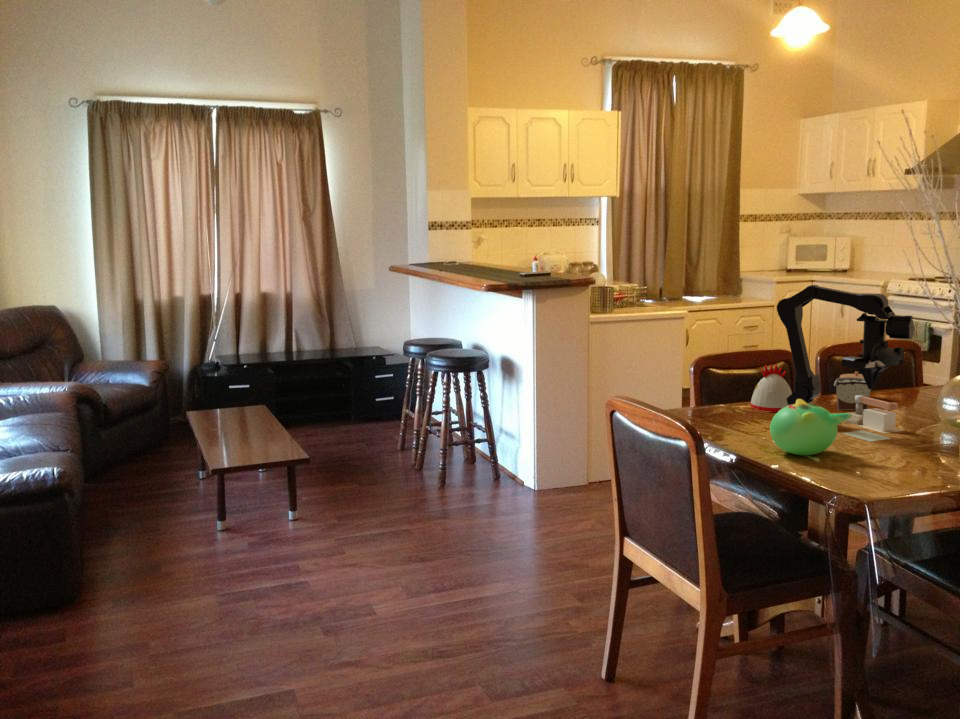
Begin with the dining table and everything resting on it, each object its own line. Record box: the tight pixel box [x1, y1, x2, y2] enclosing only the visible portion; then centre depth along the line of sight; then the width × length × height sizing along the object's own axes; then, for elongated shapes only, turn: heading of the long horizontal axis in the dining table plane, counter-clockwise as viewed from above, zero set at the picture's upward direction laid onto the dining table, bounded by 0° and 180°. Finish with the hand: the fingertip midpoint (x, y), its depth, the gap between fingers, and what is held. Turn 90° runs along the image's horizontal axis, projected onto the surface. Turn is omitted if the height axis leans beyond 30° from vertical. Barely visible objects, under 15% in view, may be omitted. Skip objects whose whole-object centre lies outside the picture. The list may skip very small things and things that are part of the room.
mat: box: [841, 429, 892, 443], centre depth 260 cm, size 8×11×1 cm
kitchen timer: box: [750, 364, 793, 413], centre depth 299 cm, size 14×14×15 cm
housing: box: [844, 402, 905, 434], centre depth 271 cm, size 8×16×7 cm, turn 22°
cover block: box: [862, 407, 897, 431], centre depth 269 cm, size 5×8×5 cm, turn 22°
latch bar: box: [855, 395, 899, 412], centre depth 270 cm, size 4×14×2 cm, turn 22°
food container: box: [833, 377, 871, 411], centre depth 298 cm, size 12×6×10 cm, turn 84°
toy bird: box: [769, 399, 852, 456], centre depth 242 cm, size 18×17×15 cm
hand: (870, 389), depth 264 cm, fingers closed
